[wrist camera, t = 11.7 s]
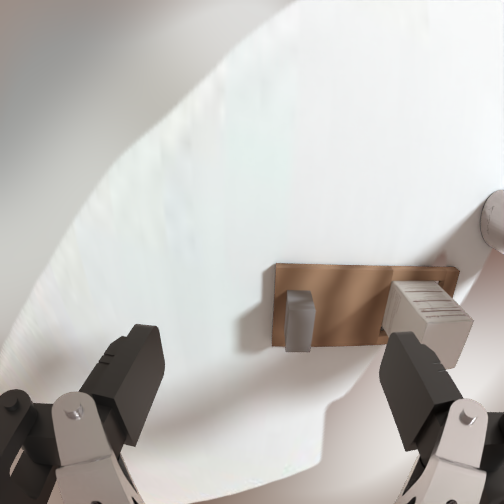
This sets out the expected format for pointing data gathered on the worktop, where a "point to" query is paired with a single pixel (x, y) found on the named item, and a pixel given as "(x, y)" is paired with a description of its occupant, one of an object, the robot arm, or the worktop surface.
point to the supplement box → (428, 318)
